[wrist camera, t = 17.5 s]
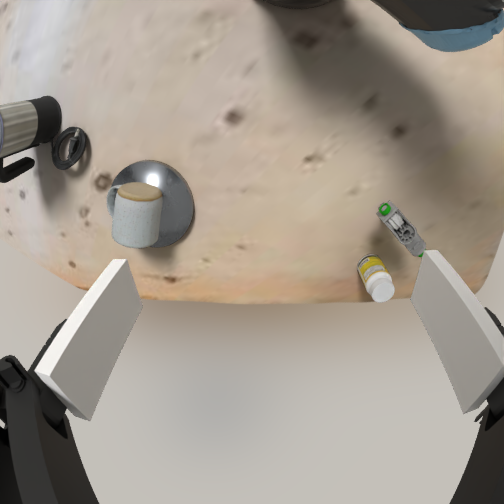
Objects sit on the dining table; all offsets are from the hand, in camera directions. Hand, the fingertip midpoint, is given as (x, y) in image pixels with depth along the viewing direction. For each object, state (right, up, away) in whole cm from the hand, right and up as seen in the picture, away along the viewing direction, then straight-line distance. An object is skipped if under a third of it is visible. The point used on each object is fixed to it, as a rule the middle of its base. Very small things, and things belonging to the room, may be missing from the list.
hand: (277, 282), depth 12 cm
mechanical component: (+20, +9, +31) cm, 38 cm away
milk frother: (-36, +23, +26) cm, 50 cm away
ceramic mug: (-19, +9, +31) cm, 38 cm away
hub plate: (-18, +9, +32) cm, 38 cm away
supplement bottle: (+20, -1, +36) cm, 41 cm away
